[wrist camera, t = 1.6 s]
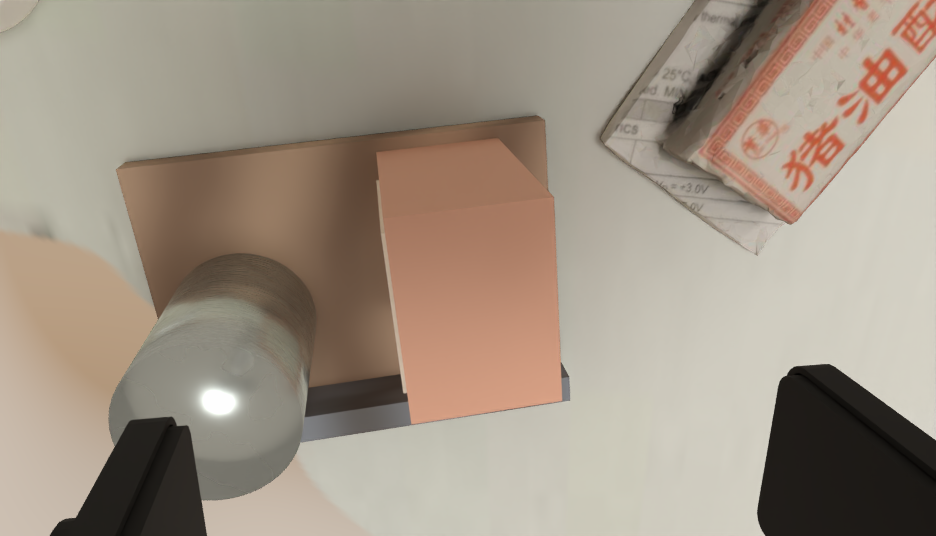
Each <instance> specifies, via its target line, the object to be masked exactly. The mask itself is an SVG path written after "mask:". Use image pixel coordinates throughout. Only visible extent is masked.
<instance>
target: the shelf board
mask: <svg viewBox="0 0 936 536" xmlns="http://www.w3.org/2000/svg"><path fill="white" fill-rule="evenodd" d="M493 138H498V139H499V140H500V141H501V142H502V143H503V144H504V145H505V146H506V147H507V148H508V149H509V150H510V151H511V152H512V153H513V154H514V156H515V157H516V158H517V159H518V160H519V161H520V162H521V163H522V164H523V165H524V166H525V167H526V168H527V169H528V170H529V171H530V172H531V173H532V175H533V176H534V177H535V178H536V179H537V180H538V181H539V182H540V183H541V184H542V185H543V186H544V187H545V188H546V189H547V190H548V179H547V157H546V134H545V120H544V119H542V118H541V117H539V116H530V117H521V118H513V119H504V120H495V121H486V122H477V123H469V124H460V125H451V126H442V127H433V128H425V129H416V130H407V131H398V132H389V133H381V134H372V135H363V136H354V137H345V138H337V139H328V140H319V141H310V142H301V143H293V144H284V145H275V146H266V147H257V148H249V149H240V150H231V151H222V152H213V153H205V154H196V155H187V156H178V157H169V158H161V159H152V160H143V161H134V162H125V163H124V164H123V165H121V166H120V167H119V168H117V169H116V172H117V175H118V179H119V182H120V186H121V189H122V193H123V197H124V200H125V204H126V207H127V211H128V214H129V218H130V221H131V225H132V228H133V232H134V235H135V239H136V243H137V246H138V250H139V253H140V257H141V260H142V264H143V267H144V271H145V274H146V278H147V281H148V285H149V289H150V292H151V296H152V299H153V303H154V306H155V310H156V313H157V317H158V319H159V318H160V316H161V314H162V313H163V311H164V310H165V308H166V306H167V305H168V303H169V301H170V300H171V298H172V297H173V295H174V293H175V292H176V290H177V288H178V287H179V285H180V284H181V282H182V281H183V279H184V278H185V277H186V276H187V275H188V274H189V273H190V272H191V271H192V270H193V269H194V268H196V267H197V266H199V265H200V264H202V263H204V262H206V261H208V260H210V259H212V258H215V257H218V256H222V255H227V254H236V253H245V254H255V255H260V256H264V257H267V258H270V259H272V260H275V261H277V262H279V263H281V264H282V265H284V266H286V267H287V268H289V269H290V270H291V271H293V272H294V273H295V274H296V275H297V276H298V277H299V278H300V279H301V280H302V281H303V283H304V284H305V285H306V287H307V288H308V290H309V292H310V294H311V296H312V298H313V301H314V304H315V308H316V315H317V324H316V333H315V340H314V348H313V356H312V363H311V371H310V378H309V386H308V394H307V401H306V409H305V417H304V424H303V432H302V437H301V442H307V441H313V440H320V439H326V438H333V437H339V436H345V435H352V434H358V433H365V432H371V431H377V430H384V429H390V428H397V427H403V426H409V425H416V424H411V417H410V410H409V403H408V396H407V393H403V387H402V380H401V373H400V366H399V359H398V351H397V344H396V337H395V330H394V323H393V316H392V309H391V302H390V295H389V288H388V281H387V274H386V267H385V259H384V252H383V245H382V238H381V230H380V218H379V206H378V195H377V183H376V180H379V175H378V165H377V155H376V152H382V151H390V150H399V149H407V148H416V147H425V146H433V145H442V144H450V143H459V142H468V141H476V140H485V139H493ZM561 383H562V401H559V402H563V401H570V384H569V376H568V374H567V372H566V370H565V368H564V367H563V365H562V363H561ZM553 403H557V402H553ZM546 404H550V403H546ZM540 405H544V404H540ZM533 406H538V405H533ZM527 407H531V406H527ZM520 408H525V407H520ZM514 409H518V408H514ZM508 410H512V409H508ZM501 411H506V410H501ZM495 412H499V411H495ZM488 413H493V412H488ZM482 414H486V413H482ZM476 415H480V414H476ZM469 416H474V415H469ZM463 417H467V416H463ZM456 418H461V417H456ZM450 419H454V418H450ZM444 420H448V419H444ZM437 421H442V420H437ZM431 422H435V421H431ZM424 423H429V422H424ZM418 424H422V423H418ZM301 442H300V443H301Z"/></svg>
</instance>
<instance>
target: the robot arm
mask: <svg viewBox="0 0 936 536" xmlns="http://www.w3.org/2000/svg"><path fill="white" fill-rule="evenodd" d="M757 515H758V521H759V525H760V527H761V529H762V531H763V533H764V534H765V536H936V440H935V439H933V438H932V437H930V436H929V435H928V434H926V433H925V432H924V431H922V430H921V429H919V428H918V427H917V426H915V425H914V424H913V423H911V422H910V421H908V420H907V419H906V418H904V417H903V416H902V415H900V414H899V413H897V412H896V411H895V410H893V409H892V408H891V407H889V406H888V405H886V404H885V403H884V402H882V401H881V400H880V399H878V398H877V397H875V396H874V395H873V394H871V393H870V392H869V391H867V390H866V389H864V388H863V387H862V386H860V385H859V384H858V383H856V382H855V381H853V380H852V379H851V378H849V377H848V376H847V375H845V374H844V373H842V372H841V371H840V370H838V369H837V368H836V367H834V366H832V365H830V364H821V365H808V366H796V367H793V368H792V369H791V370H790V371H789V372H788V374H787V376H785V377H783V378H782V379H781V380H780V383H779V386H778V392H777V398H776V403H775V409H774V415H773V421H772V427H771V433H770V439H769V444H768V450H767V456H766V462H765V468H764V474H763V480H762V485H761V491H760V497H759V503H758V510H757ZM50 536H207V533H206V527H205V521H204V514H203V508H202V502H201V495H200V489H199V482H198V476H197V470H196V463H195V457H194V450H193V444H192V438H191V432H190V429H189V427H188V426H187V425H184V426H177V424H176V421H175V419H174V418H173V417H159V418H147V419H134V420H130V421H129V422H128V424H127V425H126V427H125V429H124V431H123V433H122V435H121V436H120V438H119V440H118V442H117V444H116V446H115V447H114V449H113V451H112V453H111V455H110V457H109V458H108V460H107V462H106V464H105V466H104V468H103V469H102V471H101V473H100V475H99V477H98V479H97V480H96V482H95V484H94V486H93V488H92V490H91V491H90V493H89V495H88V497H87V499H86V500H85V502H84V504H83V506H82V508H81V510H80V511H79V513H78V515H77V517H76V518H69V519H64V520H62V521H61V522H59V523H58V524H57V526H56V527H55V528H54V530H53V531H52V533H51V535H50Z"/></svg>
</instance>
